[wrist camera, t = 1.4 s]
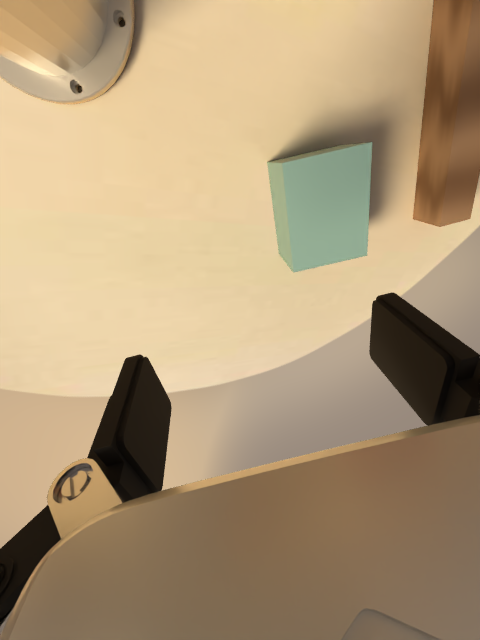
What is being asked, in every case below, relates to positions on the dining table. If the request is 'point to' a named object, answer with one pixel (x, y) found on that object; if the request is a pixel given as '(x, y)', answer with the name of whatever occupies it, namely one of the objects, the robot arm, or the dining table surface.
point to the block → (322, 205)
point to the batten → (450, 116)
